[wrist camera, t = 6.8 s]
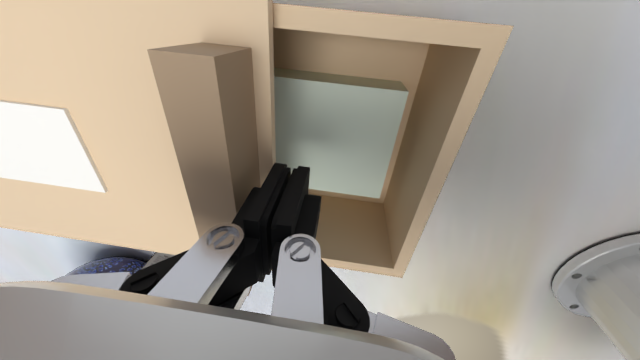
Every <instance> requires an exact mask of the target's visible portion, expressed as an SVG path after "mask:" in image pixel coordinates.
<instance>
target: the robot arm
mask: <svg viewBox="0 0 640 360" xmlns="http://www.w3.org/2000/svg"><path fill="white" fill-rule="evenodd" d="M309 177H310V167H304V166H298V168H297V169H296V168H293V171H292V173H291V168H289V167H287V164H281V163H274V165H273V166H272V168H271V170H270V172H269V174H268V175H267V177H266V179H265V181H264V183H263V184H262V186H261V188H259V187H253V189H252V190H251V192H250V193H249V195H248V196H247V198H246V200H245V201H244V203H243V205H242V206H241V208H240V210H239V211H238V213H237V215H236V216H235V218H234V220H233V221H232V223H222V224H219V225H216V226H214V227H212V228H210V229H209V230H208V231H206V232H205V233H204V234H203V235H202V237H201V238H200V239H199V240H198V241H197V242H196V243H195V244H194V245H193V246H192V247H191V248H190V249H189V250H187V251H184V252H182V253H180V254H177V255H175V256H172V257H170V258H168V259H165V260H163V261H160V262H158V263H156V264H153V265H151V266H148V267H146V268H143V269H141V270H139V271H137V272H136V273H134V274H133V275H131V274H130V272H117V273H98V274H79V275H68V276H62V277H60V278H57V279H55V280H52V281H20V282H6V283H0V360H456V359H455V356H454V354H453V352H452V350H451V349H450V347H449V346H448V345H447V344H446V343H445V342H444V341H443V340H442V339H441V338H439V337H438V336H436V335H434V334H432V333H429V332H427V331H424V330H422V329H419V328H417V327H414V326H412V325H409V324H407V323H404V322H402V321H399V320H397V319H394V318H392V317H389V316H387V315H384V314H382V313H379V312H378V313H377V314H374V313H372V312H369V311H367V310H366V308H365V307H364V305H363V304H362V303H361V302H360V301H359V300H358V298H357V297H356V296H355V295H354V294H353V293H352V292H351V291H350V290H349V289H348V287H347V286H346V285H345V284H344V283H343V282H342V281H341V280H340V279H339V278H338V277H337V275H336V274H335V273H334V272H333V271H332V270H331V269H330V268H329V267H328V266H327V264H326V263H325V262H324V261H323V260H322V259H321V250H320V245H319V243H318V242H317V240H316V234H317V228H318V222H319V215H320V207H321V198H322V196H317V195H310V194H308V191H309ZM271 270H272V278H273V286H274V288H275V290H274V297H273V305H272V313H271V315H266V314H260V313H254V312H248V311H242V310H240V308H241V306H242V304H243V302H244V301H245V299H246V297H247V295H248V293H249V291H250V286H252V285H254V284H255V283H257V281H259V282H263V281H264V278H265V275H266V274H267V275H270V273H271ZM552 291H553V293H554V296H555V297H556V298H557V300H558V301H559V302H560V304H561V305H562V306H563V307H564V308H566V309H567V310H569V311H571V312H573V313H576V314H579V315H582V316H586V317H592V318H593V320H594V321H595V322H596V323H597V325H598V326H599V327H600V328H601V330H602V331H603V332H604V333H605V335H606V336H607V337H608V338H609V340H610V341H611V342H612V343H613V345H614V346H615V347H616V348H617V350H618V351H619V352H620V353H621V355H622V356H623V357H624V358H625V360H640V234H635V235H630V236H625V237H621V238H617V239H614V240H610V241H607V242H604V243H602V244H599V245H597V246H594V247H592V248H590V249H588V250H586V251H584V252H582V253H580V254H578V255H577V256H575V257H574V258H572V259H571V260H569V261H568V262H567V263H566V264H565V265H564V266H563V267H561V268H560V270H559V271H558V272H557V274H556V275H555V277H554V280H553V282H552Z"/></svg>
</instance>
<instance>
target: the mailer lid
mask: <svg viewBox="0 0 640 360" xmlns="http://www.w3.org/2000/svg"><path fill="white" fill-rule="evenodd" d="M274 163H276V143H275V96H274V50H273V3H272V0H0V227H2V228H8V229H14V230H20V231H27V232H33V233H39V234H46V235H52V236H58V237H65V238H71V239H77V240H84V241H90V242H96V243H102V244H109V245H115V246H121V247H128V248H134V249H140V250H147V251H153V252H159V253H165V254H172V255H177V254H180V253H182V252H184V251H187V250H189V249H190V248H191V247H192V246H193V245H194V244H195V243H196V242H197V241H198V240H199V239H200V238H201V237H202V235H203V234H204V233H205V232H206V231H208V230H209V229H210V228H212V227H214V226H216V225H219V224H222V223H232V221H233V220H234V218H235V216H236V215H237V213H238V211H239V210H240V208H241V206H242V205H243V203H244V201H245V200H246V198H247V196H248V195H249V193H250V192H251V190H252V189H253V187H259V188H261V186H262V184H263V183H264V181H265V179H266V177H267V175H268V174H269V172H270V170H271V168H272V166H273V165H274ZM251 288H252V286H250V290H251ZM249 293H250V291H249ZM249 293H248V295H249ZM248 295H247V296H248Z"/></svg>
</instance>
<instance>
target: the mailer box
mask: <svg viewBox="0 0 640 360" xmlns="http://www.w3.org/2000/svg"><path fill="white" fill-rule="evenodd" d="M512 29H513V26H509V25H498V24H488V23H477V22H467V21H456V20H446V19H436V18H425V17H415V16H404V15H394V14H383V13H373V12H362V11H352V10H341V9H331V8H320V7H310V6H299V5H289V4H279V3H273V50H274V96H275V143H276V163H281V164H287V167H289V168H291V173H292V171H293V168H296V169H297V168H298V166H304V167H310V177H309V191H308V194H310V195H317V196H322V198H321V207H320V215H319V222H318V228H317V234H316V240H317V242H318V243H319V245H320V250H321V259H322V260H323V261H324V262H325V263H326V264H327V266H329V267H336V268H342V269H349V270H355V271H362V272H368V273H374V274H381V275H387V276H394V277H400V278H402V277H403V275H404V273H405V271H406V268H407V266H408V264H409V261H410V259H411V257H412V255H413V252H414V250H415V248H416V246H417V243H418V241H419V239H420V237H421V234H422V232H423V230H424V228H425V225H426V223H427V221H428V219H429V216H430V214H431V212H432V209H433V207H434V205H435V203H436V200H437V198H438V196H439V194H440V191H441V189H442V187H443V185H444V182H445V180H446V178H447V176H448V173H449V171H450V169H451V167H452V164H453V162H454V160H455V157H456V155H457V153H458V151H459V148H460V146H461V144H462V142H463V139H464V137H465V135H466V133H467V130H468V128H469V126H470V124H471V121H472V119H473V117H474V115H475V112H476V110H477V108H478V105H479V103H480V101H481V99H482V96H483V94H484V92H485V90H486V87H487V85H488V83H489V81H490V78H491V76H492V74H493V72H494V69H495V67H496V65H497V63H498V60H499V58H500V56H501V53H502V51H503V49H504V47H505V44H506V42H507V40H508V38H509V35H510V33H511V31H512Z"/></svg>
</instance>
